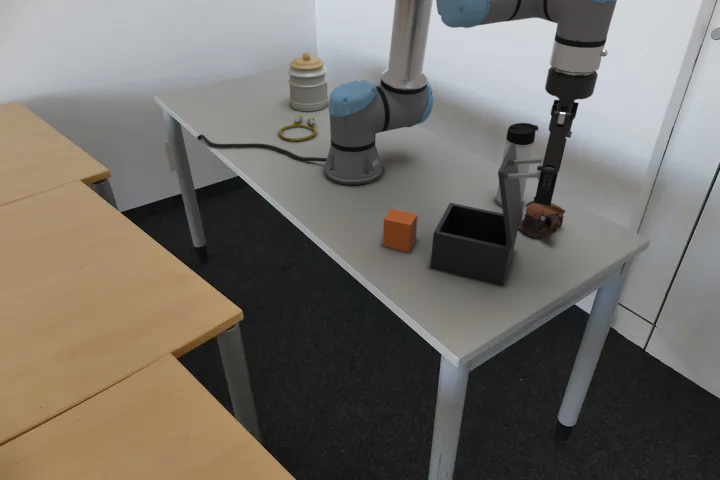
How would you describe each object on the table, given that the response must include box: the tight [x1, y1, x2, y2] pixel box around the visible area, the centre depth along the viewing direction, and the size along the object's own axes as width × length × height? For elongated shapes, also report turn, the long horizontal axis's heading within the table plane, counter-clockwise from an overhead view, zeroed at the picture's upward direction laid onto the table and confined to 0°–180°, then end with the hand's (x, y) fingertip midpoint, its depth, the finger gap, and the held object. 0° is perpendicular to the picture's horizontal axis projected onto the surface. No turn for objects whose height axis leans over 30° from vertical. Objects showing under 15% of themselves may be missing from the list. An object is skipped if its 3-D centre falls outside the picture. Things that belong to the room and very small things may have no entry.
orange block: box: [382, 208, 418, 253], centre depth 117 cm, size 6×5×7 cm
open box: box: [430, 202, 518, 287], centre depth 111 cm, size 15×12×9 cm
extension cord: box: [278, 115, 318, 142], centre depth 167 cm, size 12×16×2 cm
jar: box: [287, 51, 329, 112], centre depth 181 cm, size 13×13×18 cm
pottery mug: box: [518, 196, 566, 239], centre depth 121 cm, size 12×10×8 cm
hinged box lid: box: [497, 144, 545, 247], centre depth 101 cm, size 16×12×8 cm
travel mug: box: [495, 122, 539, 207], centre depth 127 cm, size 6×7×20 cm
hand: (547, 185), depth 99 cm, fingers open, 13 cm apart
